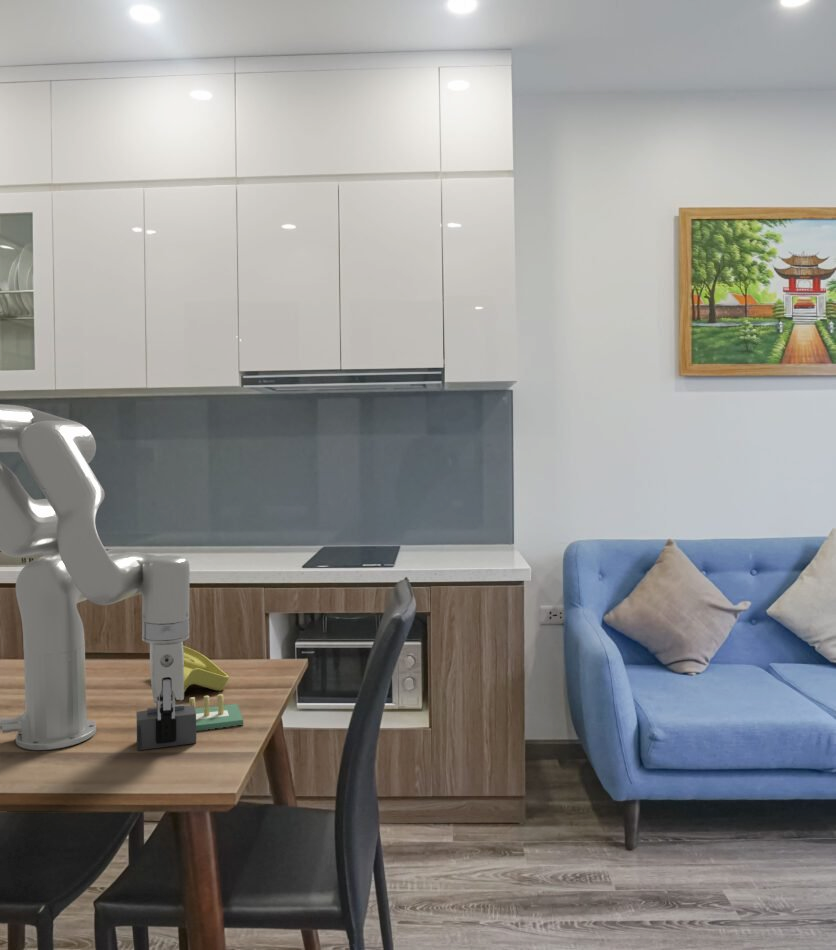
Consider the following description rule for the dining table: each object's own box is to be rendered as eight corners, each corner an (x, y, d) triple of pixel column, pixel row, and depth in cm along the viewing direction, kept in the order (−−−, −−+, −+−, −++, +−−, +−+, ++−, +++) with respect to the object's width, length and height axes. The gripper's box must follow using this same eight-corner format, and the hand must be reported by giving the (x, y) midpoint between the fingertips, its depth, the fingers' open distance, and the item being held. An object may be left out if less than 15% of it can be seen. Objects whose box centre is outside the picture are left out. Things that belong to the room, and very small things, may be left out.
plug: (137, 750, 127) (136, 717, 127) (136, 740, 131) (136, 708, 131) (196, 743, 130) (196, 710, 130) (194, 733, 135) (193, 701, 134)
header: (173, 733, 135) (172, 708, 134) (171, 716, 143) (171, 692, 143) (243, 725, 139) (242, 700, 139) (237, 708, 147) (237, 685, 147)
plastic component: (232, 679, 158) (189, 666, 153) (217, 713, 157) (173, 701, 152) (199, 650, 174) (159, 637, 169) (184, 681, 173) (143, 669, 168)
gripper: (192, 640, 123) (191, 753, 124) (186, 617, 139) (185, 717, 140) (142, 644, 121) (142, 759, 122) (142, 619, 136) (141, 721, 137)
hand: (165, 735), depth 131 cm, fingers closed on plug, 4 cm apart
